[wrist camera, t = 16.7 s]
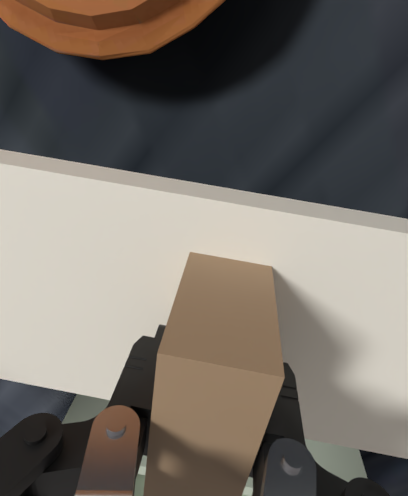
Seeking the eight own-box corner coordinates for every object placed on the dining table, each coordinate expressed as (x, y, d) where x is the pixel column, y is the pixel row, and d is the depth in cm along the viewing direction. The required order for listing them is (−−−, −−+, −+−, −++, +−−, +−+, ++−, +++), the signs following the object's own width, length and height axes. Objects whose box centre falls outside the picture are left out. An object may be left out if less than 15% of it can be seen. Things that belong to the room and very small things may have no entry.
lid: (5, 353, 18) (-105, 482, 13) (-37, 143, 13) (-261, 201, 7) (407, 432, 18) (484, 607, 12) (540, 241, 12) (797, 394, 6)
